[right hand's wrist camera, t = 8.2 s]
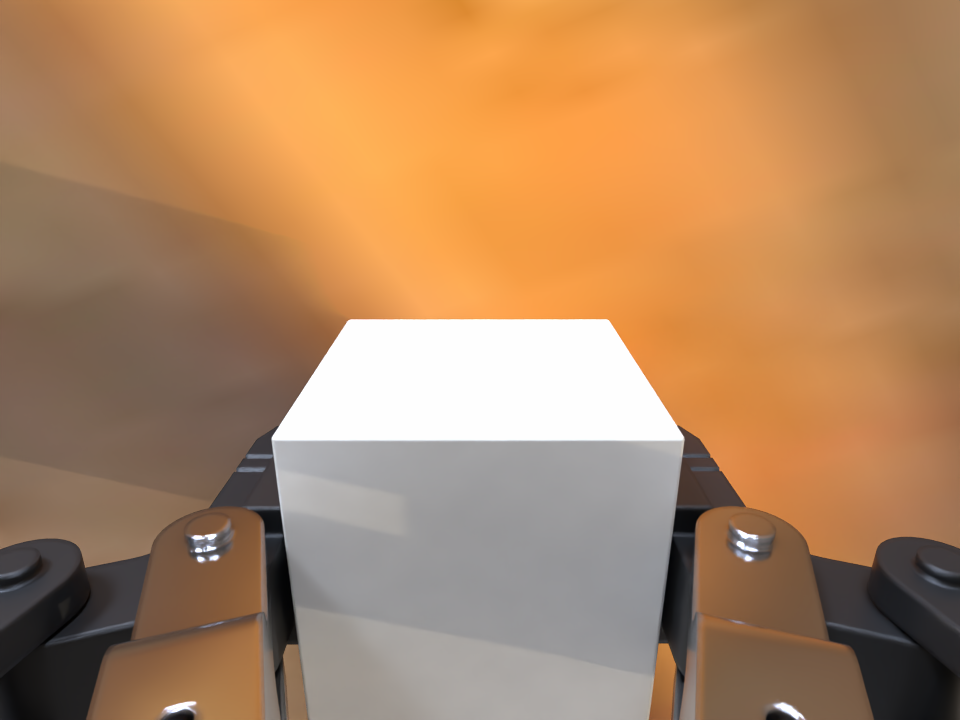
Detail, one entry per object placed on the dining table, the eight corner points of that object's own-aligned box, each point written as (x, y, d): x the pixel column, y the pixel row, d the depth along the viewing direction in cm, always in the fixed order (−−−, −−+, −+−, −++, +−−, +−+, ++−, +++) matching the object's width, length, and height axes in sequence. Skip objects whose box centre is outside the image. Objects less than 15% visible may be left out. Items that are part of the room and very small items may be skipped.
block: (364, 537, 13) (308, 740, 9) (348, 318, 11) (269, 437, 7) (593, 537, 13) (647, 739, 9) (608, 318, 11) (686, 437, 7)
